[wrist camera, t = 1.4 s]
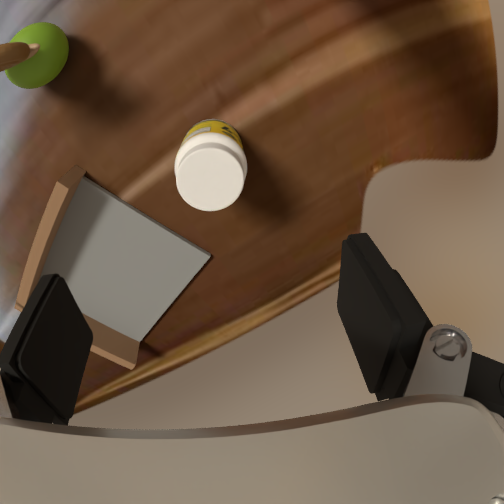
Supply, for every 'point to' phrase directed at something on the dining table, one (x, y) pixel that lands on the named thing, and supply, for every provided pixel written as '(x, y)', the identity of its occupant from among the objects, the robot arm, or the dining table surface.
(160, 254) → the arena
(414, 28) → the dining table surface
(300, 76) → the dining table surface
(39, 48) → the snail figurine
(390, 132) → the dining table surface
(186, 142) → the supplement bottle
